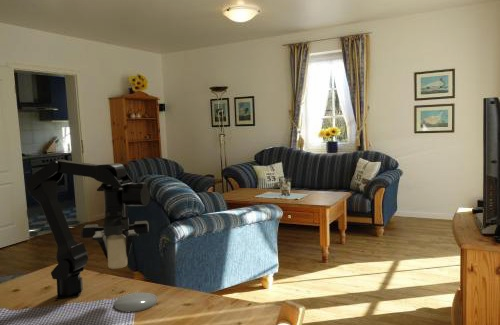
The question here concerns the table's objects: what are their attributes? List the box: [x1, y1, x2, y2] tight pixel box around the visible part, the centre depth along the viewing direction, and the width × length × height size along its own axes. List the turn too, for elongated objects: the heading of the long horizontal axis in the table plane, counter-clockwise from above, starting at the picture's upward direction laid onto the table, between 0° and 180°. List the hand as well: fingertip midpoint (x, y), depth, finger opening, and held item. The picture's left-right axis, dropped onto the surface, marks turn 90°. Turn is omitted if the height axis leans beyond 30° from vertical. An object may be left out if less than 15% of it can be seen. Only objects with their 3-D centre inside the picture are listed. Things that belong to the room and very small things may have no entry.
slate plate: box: [113, 292, 158, 313], centre depth 118 cm, size 12×12×1 cm
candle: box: [106, 233, 128, 270], centre depth 121 cm, size 6×6×10 cm
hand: (117, 257), depth 121 cm, fingers closed on candle, 5 cm apart
